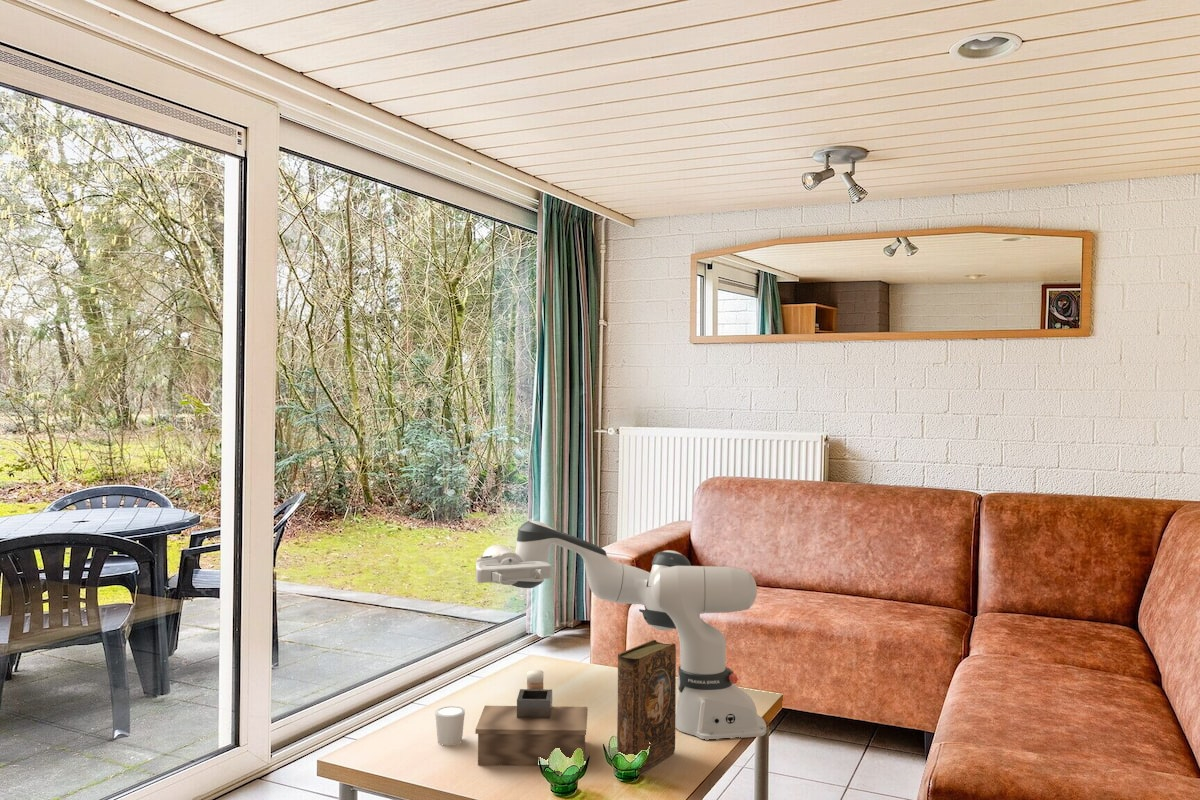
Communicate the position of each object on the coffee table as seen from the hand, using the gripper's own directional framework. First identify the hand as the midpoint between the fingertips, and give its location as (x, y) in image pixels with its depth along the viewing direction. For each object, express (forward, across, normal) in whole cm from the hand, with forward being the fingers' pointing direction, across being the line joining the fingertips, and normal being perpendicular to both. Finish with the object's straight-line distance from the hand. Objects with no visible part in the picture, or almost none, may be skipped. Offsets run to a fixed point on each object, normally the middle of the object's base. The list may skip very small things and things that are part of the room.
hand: (520, 577), depth 222 cm
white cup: (+14, +21, -34) cm, 42 cm away
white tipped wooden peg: (+11, -1, -34) cm, 36 cm away
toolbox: (+27, +4, -34) cm, 44 cm away
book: (+40, -17, -34) cm, 56 cm away
